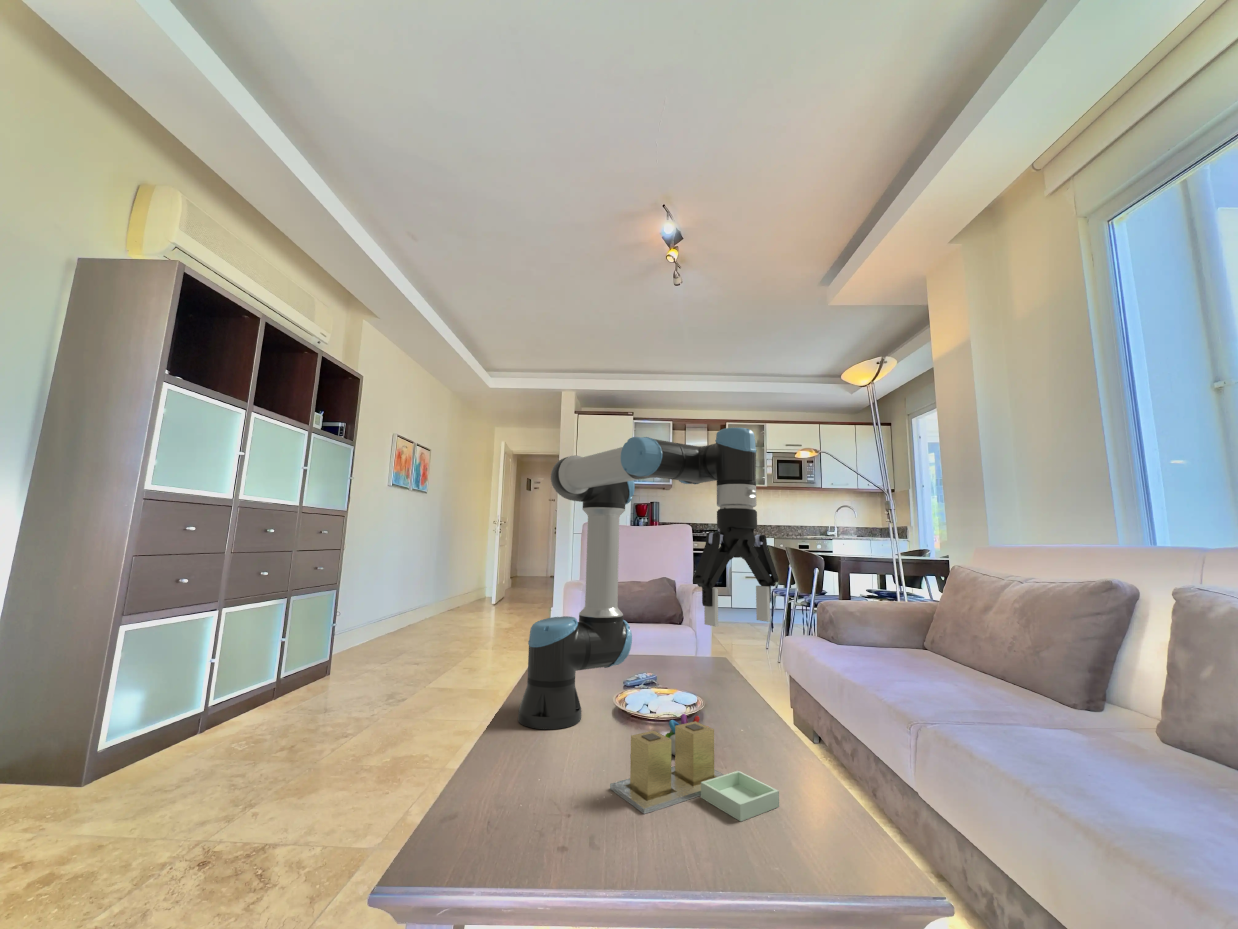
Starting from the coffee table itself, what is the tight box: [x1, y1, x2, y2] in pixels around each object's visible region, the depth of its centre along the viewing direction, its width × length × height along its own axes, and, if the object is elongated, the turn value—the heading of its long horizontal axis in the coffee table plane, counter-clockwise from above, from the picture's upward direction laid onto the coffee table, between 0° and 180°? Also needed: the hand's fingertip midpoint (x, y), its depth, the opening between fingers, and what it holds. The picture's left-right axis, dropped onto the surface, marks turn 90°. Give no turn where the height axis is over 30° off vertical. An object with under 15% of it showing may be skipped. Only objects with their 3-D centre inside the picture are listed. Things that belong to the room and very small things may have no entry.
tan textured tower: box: [674, 721, 715, 786], centre depth 94 cm, size 5×5×9 cm
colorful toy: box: [664, 713, 709, 756], centre depth 108 cm, size 8×10×7 cm
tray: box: [700, 770, 780, 822], centre depth 86 cm, size 9×9×2 cm
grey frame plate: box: [609, 765, 725, 815], centre depth 91 cm, size 10×20×1 cm, turn 123°
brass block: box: [629, 730, 672, 801], centre depth 89 cm, size 5×5×9 cm
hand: (738, 623), depth 96 cm, fingers open, 13 cm apart
